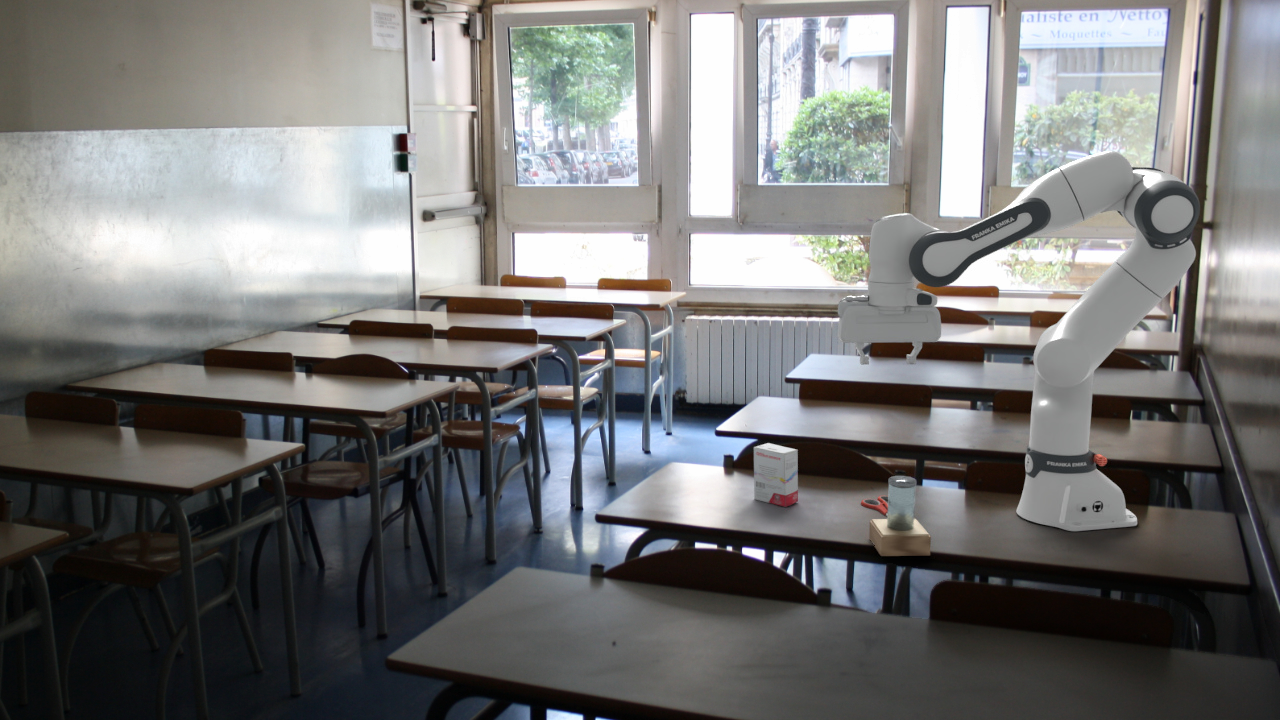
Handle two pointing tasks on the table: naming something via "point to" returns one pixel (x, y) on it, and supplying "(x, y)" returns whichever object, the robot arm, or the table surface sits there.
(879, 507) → the scissors
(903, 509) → the translucent jar
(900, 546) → the beige box
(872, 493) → the table surface
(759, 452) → the ink box
